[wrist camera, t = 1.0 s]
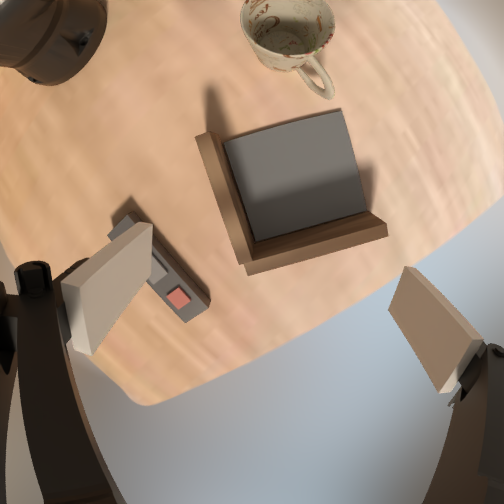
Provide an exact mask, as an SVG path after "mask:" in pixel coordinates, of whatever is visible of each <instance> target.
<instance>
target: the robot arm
mask: <svg viewBox="0 0 504 504" xmlns="http://www.w3.org/2000/svg"><path fill="white" fill-rule="evenodd" d="M105 27H106V12H105V9H104V7H103V6H102V5H101V3H99V2H98V1H97V0H0V66H1V67H9V68H14V69H16V70H17V71H18V72H19V73H21V74H22V75H23V76H25V77H26V78H28V79H29V80H30V81H31V82H33V83H35V84H39V85H45V86H54V85H58V84H61V83H63V82H65V81H67V80H69V79H70V78H72V77H73V76H74V75H76V74H77V73H78V72H79V71H80V70H81V69H82V68H83V67H84V66H85V65H86V64H87V63H88V61H89V60H90V59H91V57H92V56H93V54H94V53H95V51H96V50H97V48H98V46H99V44H100V42H101V40H102V37H103V35H104V31H105ZM152 230H153V224H150V223H144V222H138V223H136V224H135V225H133V226H132V227H131V228H129V229H128V230H127V231H125V232H124V233H122V234H121V235H120V236H118V237H117V238H116V239H114V240H113V241H112V242H110V243H109V244H108V245H106V246H105V247H104V248H102V249H101V250H100V251H98V252H97V253H96V254H95V255H93V256H92V257H91V258H85V259H82V260H79V261H77V262H76V263H74V264H73V265H72V266H71V267H70V268H68V269H67V270H65V271H64V273H62V274H60V275H59V276H58V277H57V278H55V279H54V280H53V281H52V276H51V270H50V266H49V264H48V263H46V262H43V261H30V262H26V263H24V264H21V265H20V266H18V267H17V268H16V269H15V271H14V275H15V280H16V285H17V290H18V294H19V295H10V294H6V290H5V286H4V283H3V282H1V281H0V504H7V503H6V484H5V462H6V461H5V460H6V440H7V430H8V420H9V411H10V405H11V399H12V393H13V387H14V382H15V377H16V372H17V368H18V378H19V389H20V399H21V406H22V414H23V420H24V426H25V431H26V436H27V441H28V446H29V450H30V454H31V458H32V462H33V466H34V470H35V473H36V476H37V480H38V483H39V486H40V489H41V492H42V495H43V499H44V504H127V503H126V502H125V500H124V498H123V496H122V494H121V493H120V491H119V489H118V487H117V485H116V483H115V481H114V479H113V478H112V475H111V473H110V471H109V470H108V467H107V465H106V463H105V461H104V459H103V456H102V454H101V452H100V449H99V447H98V445H97V442H96V440H95V437H94V435H93V432H92V430H91V427H90V424H89V422H88V419H87V416H86V413H85V410H84V407H83V404H82V401H81V398H80V395H79V392H78V388H77V385H76V382H75V378H74V375H73V371H72V367H71V363H70V359H69V355H68V351H67V347H66V343H67V342H68V341H69V340H70V338H72V342H73V346H74V350H76V351H79V352H81V353H84V354H87V355H90V356H93V354H94V353H95V351H96V350H97V348H98V347H99V345H100V344H101V342H102V341H103V339H104V338H105V337H106V335H107V334H108V332H109V331H110V329H111V328H112V327H113V325H114V324H115V322H116V321H117V320H118V318H119V317H120V315H121V314H122V313H123V311H124V310H125V309H126V307H127V306H128V304H129V303H130V302H131V300H132V299H133V298H134V296H135V295H136V294H137V292H138V291H139V290H140V288H141V287H142V286H143V284H144V283H145V282H146V280H147V279H148V278H149V277H150V275H151V256H152ZM388 311H389V312H390V314H391V315H392V317H393V318H394V320H395V322H396V323H397V325H398V326H399V328H400V329H401V331H402V333H403V334H404V336H405V337H406V339H407V341H408V342H409V344H410V345H411V347H412V349H413V350H414V352H415V353H416V355H417V357H418V359H419V360H420V362H421V363H422V365H423V367H424V369H425V371H426V372H427V374H428V376H429V378H430V379H431V381H432V383H433V385H434V386H435V388H436V390H437V392H438V393H445V392H451V390H452V389H453V388H454V386H455V385H456V383H457V382H458V381H459V382H460V384H461V388H460V389H459V390H458V392H457V393H456V394H455V396H454V397H453V399H452V400H451V401H450V402H449V404H448V406H450V405H451V404H452V403H455V404H454V406H453V407H452V408H453V413H452V418H451V422H450V426H449V430H448V433H447V437H446V440H445V444H444V447H443V450H442V454H441V457H440V460H439V463H438V466H437V468H436V471H435V474H434V477H433V479H432V482H431V484H430V487H429V490H428V492H427V494H426V497H425V499H424V501H423V503H422V504H504V349H503V348H502V347H501V346H499V345H496V344H492V343H490V344H488V345H486V344H485V343H484V341H483V340H484V339H483V338H482V336H481V335H480V334H479V333H478V332H477V331H476V330H475V328H473V326H472V325H471V324H470V323H469V322H468V321H467V320H466V318H465V317H464V316H463V315H462V314H461V313H460V312H459V311H458V310H457V309H456V308H455V307H454V306H453V305H452V304H451V303H450V302H449V300H447V298H445V296H444V295H443V294H442V293H441V292H440V291H439V290H438V289H437V288H436V287H435V286H434V285H432V283H431V282H430V281H428V279H426V277H424V276H423V275H422V274H421V273H420V272H419V271H418V270H417V269H416V268H413V267H407V266H405V267H404V270H403V273H402V275H401V278H400V281H399V284H398V286H397V289H396V291H395V294H394V296H393V299H392V301H391V304H390V307H389V309H388Z"/></svg>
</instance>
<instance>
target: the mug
mask: <svg viewBox="0 0 504 504" xmlns="http://www.w3.org/2000/svg"><path fill="white" fill-rule="evenodd" d="M240 22H241V27H242V30H243V32H244V34H245V36H246V38H247V40H248V41H249V43H250V45H251V46H252V48H253V50H254V52H255V53H256V55H257V57H258V59H259V60H260V62H261V63H262V64H263V65H264V66H266V67H267V68H269V69H271V70H273V71H277V72H290V71H293V70H297V72H298V73H299V75H300V76H301V77H302V79H303V80H304V82H305V83H306V84H307V86H308V87H309V88H310V89H311V90H312V91H314V92H315V93H317V94H318V95H320V96H321V97H323V98H325V99H328V100H331V99H333V98H334V96H335V90H334V86H333V83H332V81H331V79H330V77H329V75H328V74H327V72H326V71H325V69H324V68H323V67H322V66H321V64H320V63H319V62H318V61H317V59H316V58H315V57H314V55H316V54H317V53H318V52H319V51H321V50H322V49H323V48H324V47H325V46H326V45H327V44H328V43H329V42H330V40H331V38H332V36H333V34H334V31H335V19H334V15H333V12H332V10H331V8H330V7H329V5H328V4H327V3H326V2H325V1H324V0H246V2H245V3H244V5H243V7H242V10H241V14H240ZM307 61H308V62H309V63H310V65H311V66H312V67H313V68H314V69H315V71H316V72H317V73H318V75H319V76H320V78H321V79H322V81H323V84H324V87H325V89H322V88H321V87H319V86H317V85H316V84H315V83H314V82H313V81H312V80H311V79H310V78H309V76H308V75H307V74H306V73H305V72H304V71H303V70H302V69H301V68H300V67H301V66H302V65H303V64H304V63H306V62H307Z"/></svg>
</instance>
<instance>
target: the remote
mask: <svg viewBox="0 0 504 504" xmlns="http://www.w3.org/2000/svg"><path fill="white" fill-rule="evenodd" d="M138 222H142V220H141V219H140V218H139V217H138V216H137V214H136V213H135V212H134V211H133V212H131V213H129V214H127V215H126V216H125V217H124V218H123V219H122V220H121V221H120V222H119V223H118V224H117V226H116V227H115V228H114V229H113V230H112V231H111V232H110V233H109V234H108V235H107V236H108V237H109V238H110V240H111V241H113V240H114V239H116V238H117V237H118V236H120V235H121V234H122V233H124V232H125V231H127V230H128V229H129V228H131V227H132V226H133V225H135V224H136V223H138ZM146 282H147V283H148V284H149V285H150V286H151V287H152V289H153V290H154V291H155V292H156V293H157V294H158V295H159V296H160V297H161V298H162V299H163V301H164V302H165V303H166V304H167V305H168V306H169V307H170V308H171V309H172V310H173V311H174V312H175V313H176V314H177V315H178V316H179V317H180V318H181V319H182V320H183V321H184V322H185V323H186V322H188V321H190V320H191V319H193V318H194V317H196V316H197V315H199V314H200V313H202V312H203V311H205V310H206V309H208V308H209V305H210V302H211V300H210V299H209V298H208V297H207V296H206V295H205V294H204V293H203V291H202V290H201V289H200V288H199V287H198V286H197V285H196V284H195V283H194V281H193V280H192V279H191V278H190V277H189V276H188V275H187V274H186V272H185V271H184V270H183V269H182V268H181V267H180V266H179V264H178V263H177V262H176V261H175V260H174V259H173V257H172V256H171V255H170V254H169V253H168V252H167V250H166V249H165V248H164V247H163V246H162V245H161V243H160V242H159V241H158V240H157V239H156V237H155V236H154V235H153V234H152V256H151V275H150V277H149V278H148V279H147V280H146Z"/></svg>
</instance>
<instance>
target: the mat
mask: <svg viewBox="0 0 504 504" xmlns="http://www.w3.org/2000/svg"><path fill="white" fill-rule="evenodd" d="M224 146H225V149H226V152H227V155H228V158H229V161H230V164H231V167H232V170H233V173H234V176H235V179H236V182H237V185H238V188H239V191H240V194H241V197H242V200H243V203H244V206H245V209H246V212H247V215H248V219H249V222H250V225H251V228H252V231H253V234H254V237H255V240H256V242H257V241H260V240H264V239H267V238H271V237H274V236H278V235H281V234H285V233H289V232H292V231H296V230H299V229H303V228H306V227H310V226H313V225H317V224H321V223H324V222H328V221H331V220H335V219H338V218H342V217H346V216H349V215H353V214H357V213H360V212H364V211H367V209H366V204H365V199H364V194H363V190H362V185H361V181H360V176H359V172H358V168H357V164H356V160H355V156H354V152H353V148H352V145H351V141H350V137H349V134H348V130H347V127H346V123H345V120H344V117H343V113H342V111H339V112H334V113H329V114H325V115H320V116H316V117H312V118H308V119H304V120H299V121H296V122H292V123H288V124H284V125H280V126H277V127H273V128H270V129H266V130H263V131H259V132H256V133H252V134H249V135H246V136H243V137H240V138H236V139H233V140H230V141H227V142H224Z"/></svg>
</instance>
